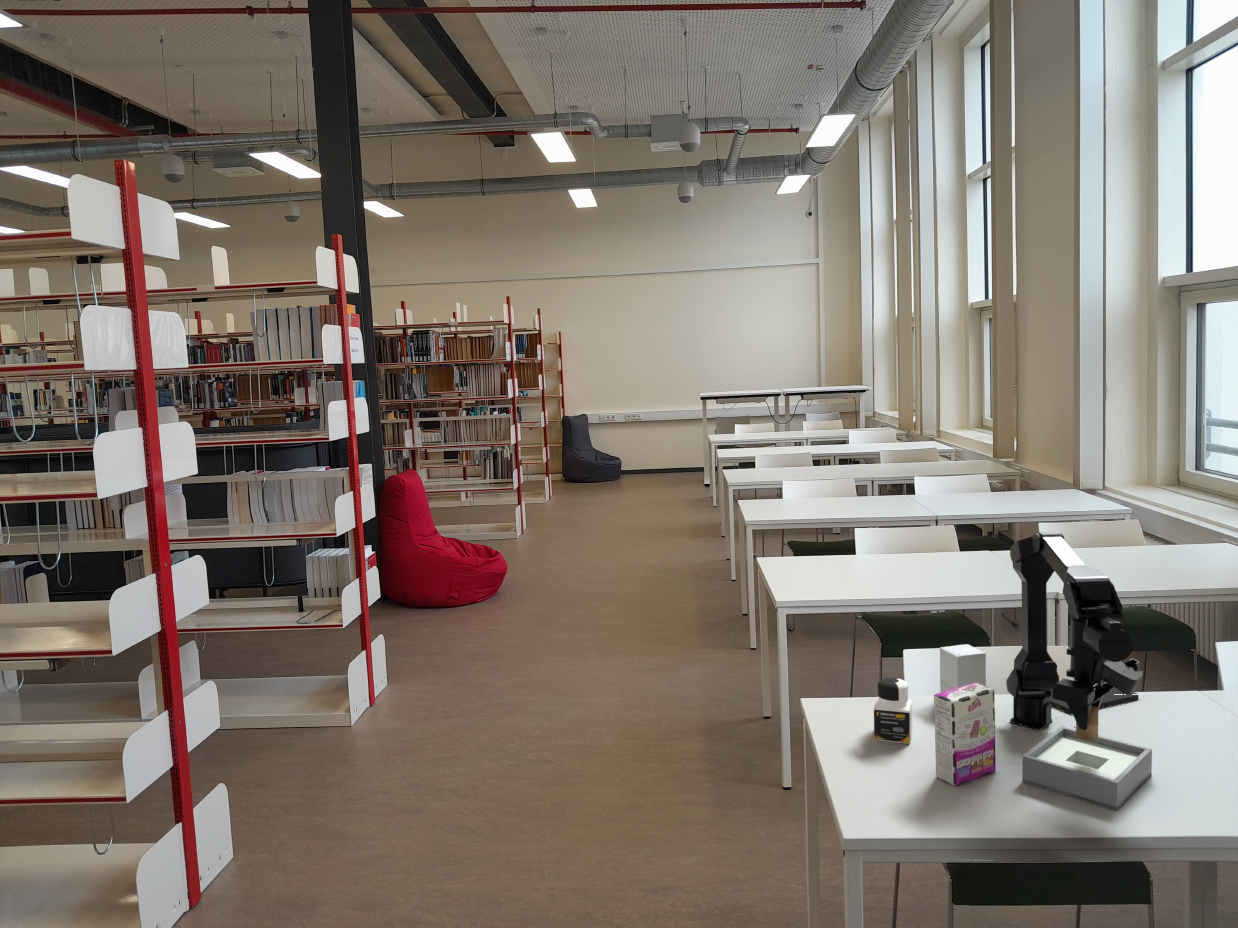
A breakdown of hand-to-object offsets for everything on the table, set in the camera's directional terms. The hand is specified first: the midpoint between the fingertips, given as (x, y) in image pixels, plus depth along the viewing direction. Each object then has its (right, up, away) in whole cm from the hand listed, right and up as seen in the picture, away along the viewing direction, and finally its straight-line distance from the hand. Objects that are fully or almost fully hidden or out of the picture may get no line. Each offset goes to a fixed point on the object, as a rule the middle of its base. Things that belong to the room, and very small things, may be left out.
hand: (1087, 725), depth 163 cm
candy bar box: (-21, -11, +5) cm, 24 cm away
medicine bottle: (-28, -9, +23) cm, 38 cm away
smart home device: (+21, -6, +37) cm, 43 cm away
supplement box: (-8, -7, +39) cm, 40 cm away
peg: (0, -2, 0) cm, 2 cm away
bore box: (+1, -10, +1) cm, 10 cm away
